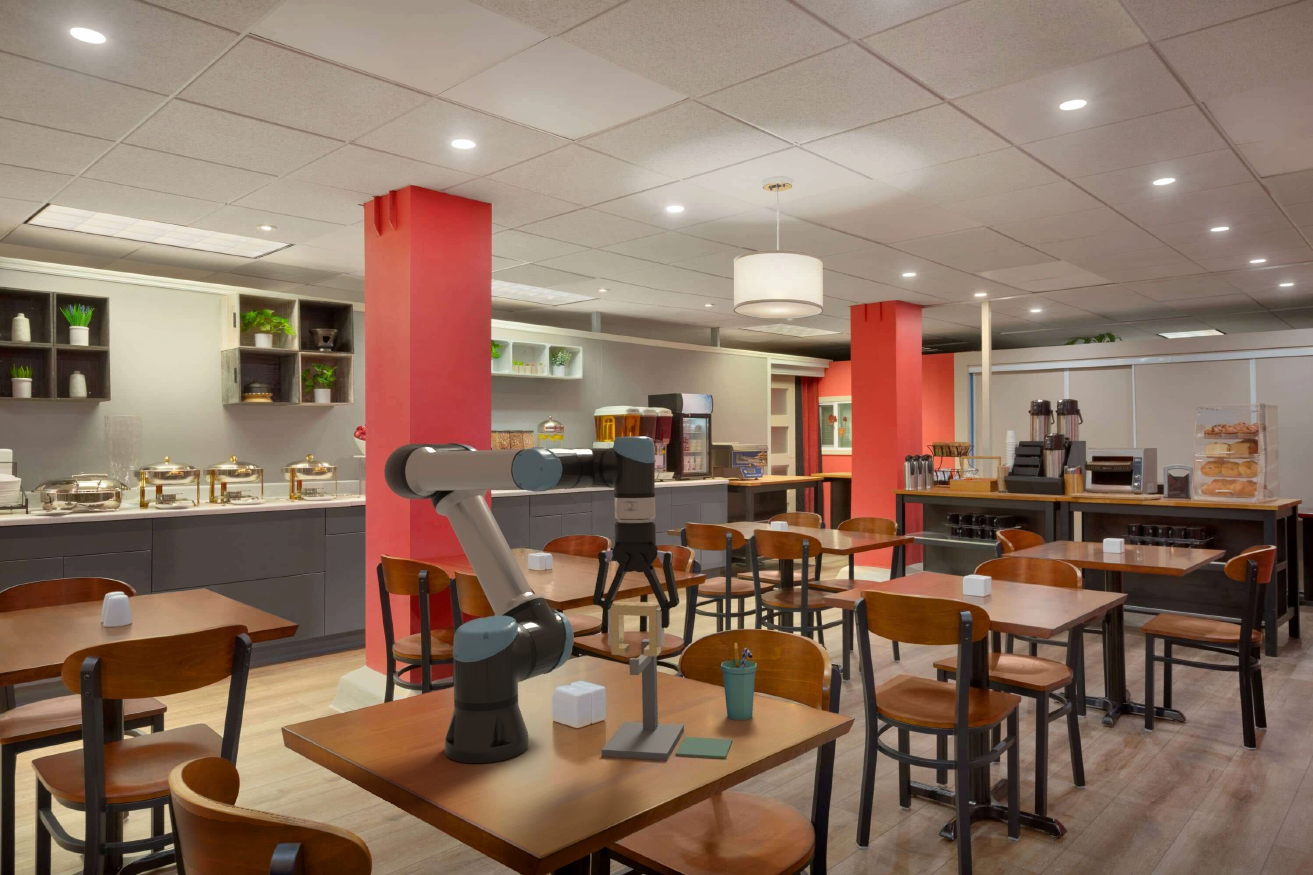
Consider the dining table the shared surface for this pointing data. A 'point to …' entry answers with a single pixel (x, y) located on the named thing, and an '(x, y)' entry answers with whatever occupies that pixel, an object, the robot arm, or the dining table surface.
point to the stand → (645, 720)
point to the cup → (739, 685)
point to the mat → (704, 747)
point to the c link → (634, 610)
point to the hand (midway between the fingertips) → (636, 644)
